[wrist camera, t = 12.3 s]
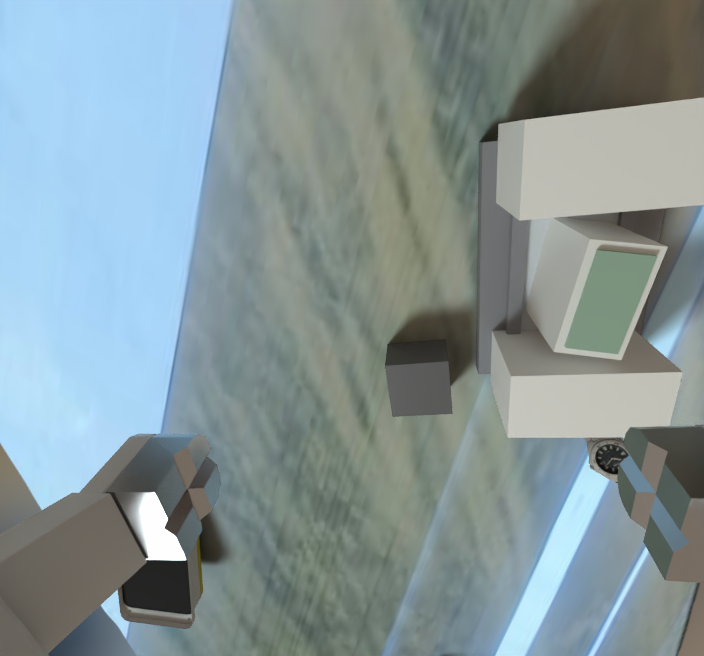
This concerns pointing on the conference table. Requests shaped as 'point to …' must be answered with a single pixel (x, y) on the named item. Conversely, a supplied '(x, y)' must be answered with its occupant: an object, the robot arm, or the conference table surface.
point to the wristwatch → (606, 455)
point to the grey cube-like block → (418, 378)
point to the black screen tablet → (164, 592)
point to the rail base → (527, 241)
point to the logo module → (592, 286)
